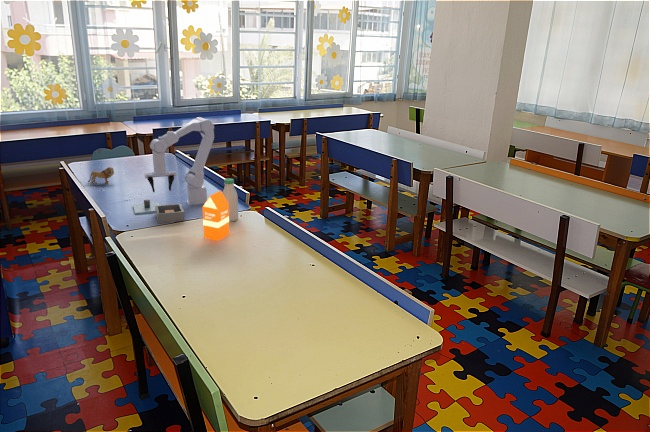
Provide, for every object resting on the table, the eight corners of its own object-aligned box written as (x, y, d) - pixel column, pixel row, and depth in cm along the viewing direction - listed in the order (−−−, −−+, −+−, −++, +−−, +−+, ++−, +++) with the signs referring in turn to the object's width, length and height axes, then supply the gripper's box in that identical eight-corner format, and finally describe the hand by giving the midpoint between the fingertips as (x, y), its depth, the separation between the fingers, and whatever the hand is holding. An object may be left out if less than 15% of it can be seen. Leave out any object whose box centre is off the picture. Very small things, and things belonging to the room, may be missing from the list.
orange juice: (203, 237, 220) (201, 194, 213) (215, 230, 228) (213, 188, 221) (219, 241, 218) (217, 197, 210) (229, 233, 225) (228, 191, 218)
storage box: (181, 212, 247) (180, 203, 245) (184, 221, 237) (184, 211, 235) (155, 215, 242) (154, 205, 241) (158, 224, 232) (157, 214, 230)
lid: (159, 205, 257) (158, 195, 255) (162, 213, 246) (161, 203, 244) (133, 207, 252) (132, 197, 250) (135, 216, 241) (134, 206, 239)
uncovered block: (173, 215, 242) (173, 209, 241) (174, 218, 238) (174, 212, 237) (165, 216, 240) (164, 210, 239) (166, 219, 237) (165, 213, 236)
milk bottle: (241, 219, 242) (240, 179, 235) (228, 223, 237) (227, 182, 230) (231, 215, 247) (230, 176, 240) (218, 218, 242) (217, 179, 234)
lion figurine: (115, 180, 290) (114, 165, 287) (114, 183, 286) (112, 168, 282) (88, 181, 287) (86, 166, 284) (86, 184, 282) (84, 169, 279)
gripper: (144, 167, 236) (147, 194, 241) (176, 165, 242) (178, 191, 247) (143, 163, 242) (145, 190, 247) (174, 161, 248) (176, 187, 253)
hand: (161, 190), depth 247 cm, fingers open, 7 cm apart
